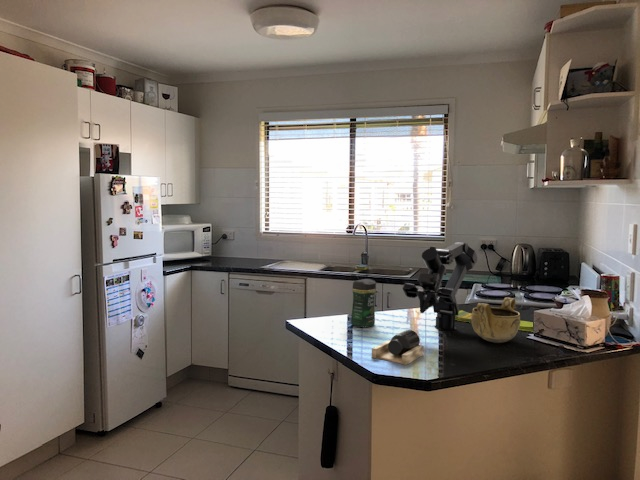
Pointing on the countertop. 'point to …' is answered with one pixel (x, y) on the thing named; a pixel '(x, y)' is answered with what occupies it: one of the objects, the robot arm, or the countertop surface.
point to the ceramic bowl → (496, 321)
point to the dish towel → (467, 318)
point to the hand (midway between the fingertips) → (421, 312)
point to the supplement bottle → (403, 342)
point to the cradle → (406, 358)
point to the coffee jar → (363, 303)
